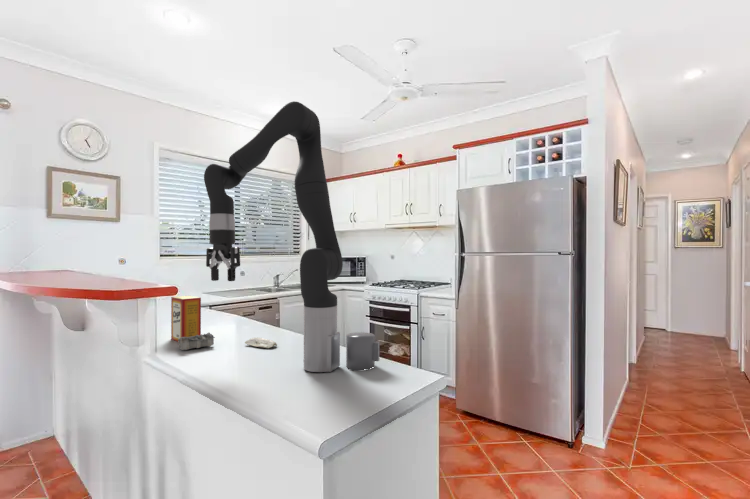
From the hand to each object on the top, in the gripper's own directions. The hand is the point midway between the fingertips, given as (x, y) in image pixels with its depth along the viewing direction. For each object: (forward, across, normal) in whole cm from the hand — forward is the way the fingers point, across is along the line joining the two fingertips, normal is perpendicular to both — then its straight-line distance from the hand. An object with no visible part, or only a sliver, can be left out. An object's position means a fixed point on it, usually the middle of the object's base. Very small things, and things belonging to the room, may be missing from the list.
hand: (223, 280), depth 124 cm
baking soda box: (+23, +30, -5) cm, 38 cm away
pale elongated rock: (+24, -1, -12) cm, 27 cm away
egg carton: (+24, +13, 0) cm, 27 cm away
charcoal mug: (+24, -42, -15) cm, 51 cm away
